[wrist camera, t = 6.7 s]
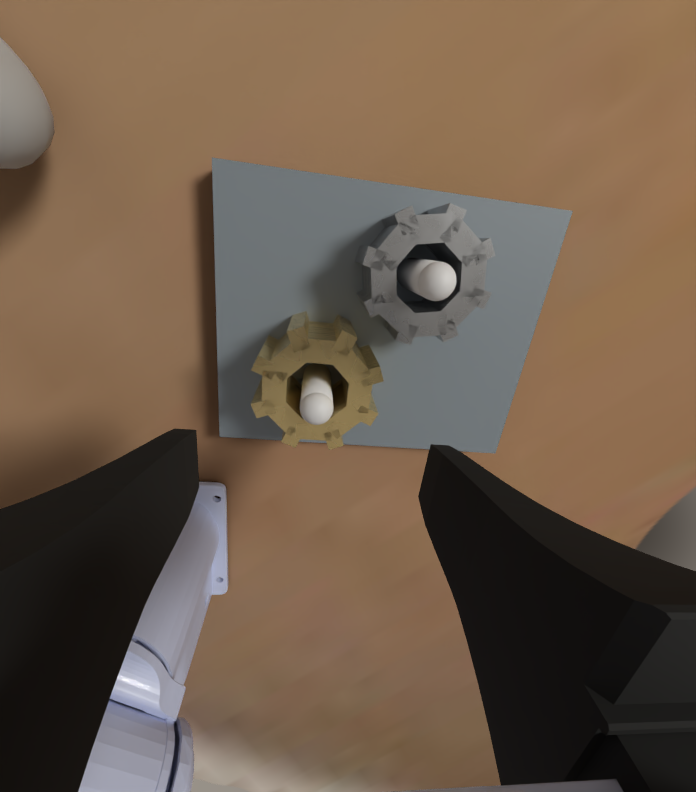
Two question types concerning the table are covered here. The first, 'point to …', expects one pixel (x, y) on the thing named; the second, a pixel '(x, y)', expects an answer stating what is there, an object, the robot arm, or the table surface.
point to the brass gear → (284, 391)
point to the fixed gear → (449, 245)
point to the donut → (21, 113)
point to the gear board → (337, 295)
